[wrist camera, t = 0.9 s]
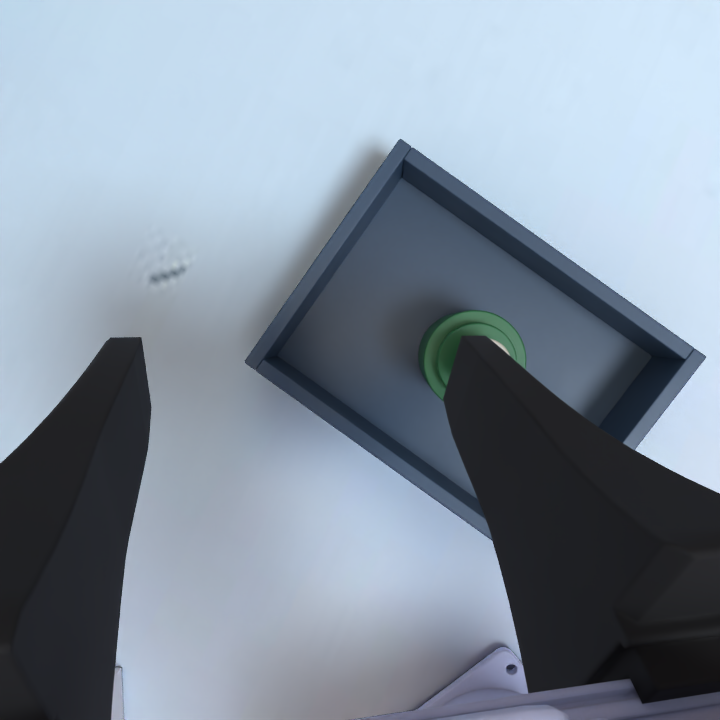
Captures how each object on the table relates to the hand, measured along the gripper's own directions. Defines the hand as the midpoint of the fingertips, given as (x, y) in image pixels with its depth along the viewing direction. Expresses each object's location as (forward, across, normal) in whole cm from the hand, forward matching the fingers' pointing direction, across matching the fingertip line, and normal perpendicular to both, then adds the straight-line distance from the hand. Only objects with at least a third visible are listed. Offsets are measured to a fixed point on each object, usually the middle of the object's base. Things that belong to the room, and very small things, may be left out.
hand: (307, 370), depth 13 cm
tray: (+10, -9, +8) cm, 15 cm away
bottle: (+9, -9, +7) cm, 15 cm away
